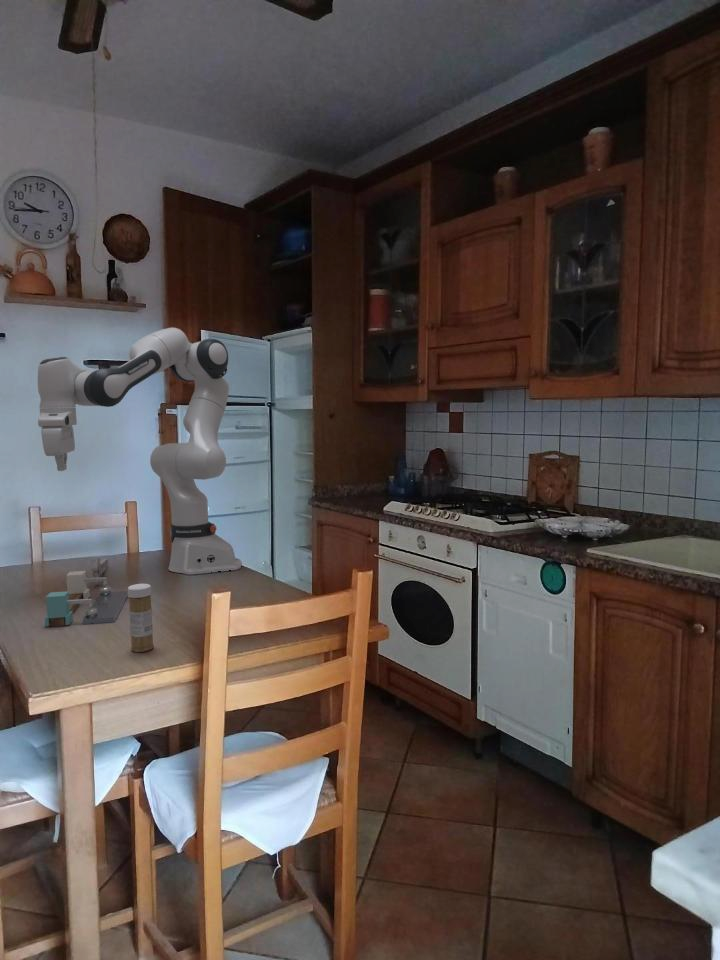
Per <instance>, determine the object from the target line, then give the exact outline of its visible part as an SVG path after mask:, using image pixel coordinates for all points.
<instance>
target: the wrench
mask: <svg viewBox="0 0 720 960" xmlns="http://www.w3.org/2000/svg"><path fill="white" fill-rule="evenodd" d="M90 562H91V563H90V571H92V574H93V577H92V578H102V575H103V574H104V572H106V570H107V569H108V568H109V560H108V558H104V559H103V558H101V560H100V559H99V558H92V559H91V561H90ZM107 567H108V568H107ZM101 583H102V581H98V582H93V586H94V587H96V586H97V585H99V586H101V585H102V584H101Z"/></svg>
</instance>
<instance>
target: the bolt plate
mask: <svg viewBox="0 0 720 960" xmlns="http://www.w3.org/2000/svg"><path fill="white" fill-rule="evenodd" d="M128 597H129V596H128V590H122V591H112V587H111V586H107V587H104V586H100V588H99V594H98V596H96V599H95V600H94V602H92V609H91V610H89V609H88V608H85V610H84V612H85V615H84V616H83V618H82V625H91V623H94V624H105V623H107V622H108V623H115V621H116V620H117V618H118V616H119V614H120V612H121V610H122V608H123V606H124V604H125V602H126V600H127V598H128Z"/></svg>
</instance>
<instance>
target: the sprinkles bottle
mask: <svg viewBox="0 0 720 960" xmlns="http://www.w3.org/2000/svg"><path fill="white" fill-rule="evenodd" d="M127 591H128V596H127V597H128V602H129V603H128V605H129V612H128V613H129V627H130V628H129V629H130V632H129V633H130V641H131V647H130V649H131V651H132V652H134V653H144V652H149V651H150V650H152V649H154V637H153V636H154V635H153V633H154V631H153V630H154V628H153V611H152V610H153V609H152V600H151V596H152V586H151V585H150V584H148V583H137V584H132V585H130V586H128V587H127Z"/></svg>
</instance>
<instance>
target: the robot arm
mask: <svg viewBox="0 0 720 960" xmlns="http://www.w3.org/2000/svg"><path fill="white" fill-rule="evenodd" d="M228 365H229V352H228V349H227V347H226V345H225V344H224V343H223V341H220V340H219V339H215V338H206V339H205V338H204V339H203V340H200V341H197V342H194V343H192V342H191V341H189V338H188V337H187V335H186V333H185V332H184V331H182V330H181V329H180V328H177V327H167V328H163V329H159V330H156V331H154V332H151V333H149V334H147V335H145V336H143V337H141V338H139V339H138V340H137V341H135V342H134V343H133V344H131V346H130V348H129V361H127V362H126V363H123V364H122V365H120V366H118V367H115V368H112V367H111V368H110V367H109V368H107V367H106V368H100V369H92V370H90V369H89V370H87V368H84V367H81V366H80V365H77V364H75V363H74V362H73V361H72V360H71V359H70V358H69V357H66V356H59V357H52V358H46V359H42V360H41V362H39V365H38V368H37V390H38V394H39V398H40V402H39V417H38V418H37V419H38V420H37V424H38V428H40V429H41V430H40V431H41V432H40V433H41V440H42V441H41V442H42V447H43V451H44V454H45V456H46V457H54V461H55V462H56V463H55V464H56V469H57V472H64V471H66V470H67V468H68V467H67V462H68V453H71V452H74V451H75V449H76V443H75V441H76V440H75V436H74V435H75V434H74V433H75V432H74V428H73V426H77V425H78V422H77V410H76V409H77V408H76V405H78V406H81V407H82V406H83V407H85V406H87V407H89V406H90V407H96V406H97V407H99V406H100V407H105V408H106V407H108V408H110V407H114V406H116V405H118V404H119V403H120V402H122V400H123V399H124V398H125V396H126V394H127V393H128V392H129V391H130V390H132V388H134V387H135V386H137V385H139V384H140V383H141V382H143V381H145V380H146V379H148V378H149V377H151V376H152V375H155V374H158V373H160V372H163V371H164V370H166V369H168V368H169V370H170V372H171V374H172V375H173V376H174V378H175V379H177V380H179V381H181V382H185V383H188V382H190V383H191V382H194V391H193V393H192V395H191V397H190V398H191V399H190V401H189V404H188V406H187V408H186V411H185V415H184V417H183V421H182V423H183V426H184V428H185V431H186V432H187V433H189V440H188V441H187V442H185V443H184V442H170V443H165V444H162V445H158V446H156V447H155V448H154V449H153V450H152V452H151V453H150V461H149V462H150V467H151V470H152V471H153V472H154V473H155V474H156V475H157V476H158V477H159V478H160V479H161V481H162V483H163V485H164V487H165V489H166V491H167V495H168V497H169V498H168V499H169V501H170V502H169V503H170V513H171V523H170V529H169V532H170V533H169V534H170V542H171V554H170V559H169V564H168V568H167V570H168V571H170V572H172V573H178V574H179V573H180V574H184V575H191V576H192V575H200V574H209V573H211V572H212V573H219V572H218V571H221V572H228V571H229V570H231V571H237V570H239V569H241V568H242V567H243V562H242V560H241V559H240V558H238V557H236V556H235V551H234V548H233V546H232V544H230V542H228V541H226V540H225V539H223V538H222V537H221V536H219V535H217V534H216V531H217V526H216V525H215V524H214V523H212V522H210V521H209V507H208V506H209V504H208V503H209V502H208V498H207V496H206V494H205V493H203V492H202V491H201V490H200V489H199V488H198V486H197V484H196V481H195V480H209V479H215V478H219V477H220V476H221V475H222V474H223V473H224V471H225V469H226V465H227V457H226V454H225V453H224V450H223V449H222V448H221V447H220V445H219V441H218V440H219V439H218V435H219V434H218V433H219V429H220V426H221V423H222V420H223V416H224V414H225V410H226V407H227V405H228V404H227V403H228V398H229V392H230V391H229V390H230V387H229V383H228V382H227V380H226V379H225V378H224V376H225V375H226V374H227V373H228ZM241 566H242V567H241ZM229 572H230V571H229Z"/></svg>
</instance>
